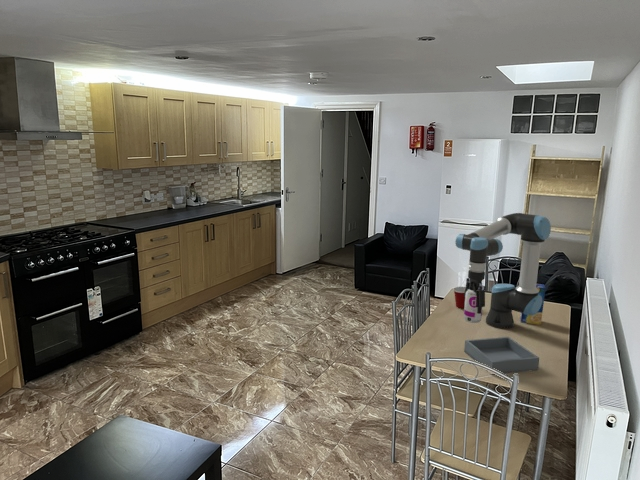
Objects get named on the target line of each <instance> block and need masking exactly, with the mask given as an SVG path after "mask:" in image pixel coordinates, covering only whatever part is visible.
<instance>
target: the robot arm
mask: <svg viewBox="0 0 640 480" xmlns="http://www.w3.org/2000/svg"><path fill="white" fill-rule="evenodd" d="M551 230H552V227H551V222H550V220H549V219H548V217H546V216H543V215H539V214H538V215H537V214H531V213H530V214H529V213H523V212H515V213H509V214H506V215H504V216H503V215H502V216H501V217H499V218H497V219H496V220H495V221H494V222H493V223H490V224H488V225H486V226H483V227H481V228H479V229H477V230H475V231H473V232H471V233H468V234H465V233H459V234H457V236H456V238H455V242H454V243H455V246H456V248H457V249H461V250H464V251H467V252H468V251H469V263H468V272H467V278H466V280H465V281H466V283H465V287H466V288H465V293H464V297H465V295H466V291H467V290H468V289H470V290H473V289H474V292H475V293H476V296H477V299H476V303H477V306H476V308H475V320H480V319H481V311H482V312H483V308H485V307H486V289H487V288H486V285H483V283H482V282H483V280H485V277H486V268H487V267H486V266H487V257H490V256H495V255H496V256H497V255H498V254H500V253H501V252H502V251H503V247H504V246H503V243H502V241H501V240H500V239H498V238H497V237H500V236H502V235H503V236H505V235H508V234H509V235H510V234H512V235H517V236H520V241H521V242H522V243H523V244H522V251H521V253H522V254H521V263H520V271H519V272H520V273H519V280H518V285H517V286H516V287H515V285H514V284H510V283H497V284H494V285H493V286H492V289H491V295H490V297H491V298H490V306H489V311H488V312H487V316H486V317H485V323H486V324H487V325H488V326H491V327H494V328H498V329H511V328H513V327H514V326H515V320H514V316H513V311H514V312H516V313H517V312H518V313H519V314H520V313H523V314H527V315H531V316H532V315H535V314H536V313H537V312H538V311H539V309H540V307H541V304H542V297H541V296H540V295H538V293H539V291H538V289H537V288H536V284H538V283H537V282H538V275H539V274H538V272H539V265H540V264H539V263H540V258H541V257H540V256H541V246H542V244H544V243H545V240H547V239H549V237H550V234H551ZM476 290H479V291H476ZM482 307H483V308H482ZM481 320H482V319H481Z"/></svg>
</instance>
